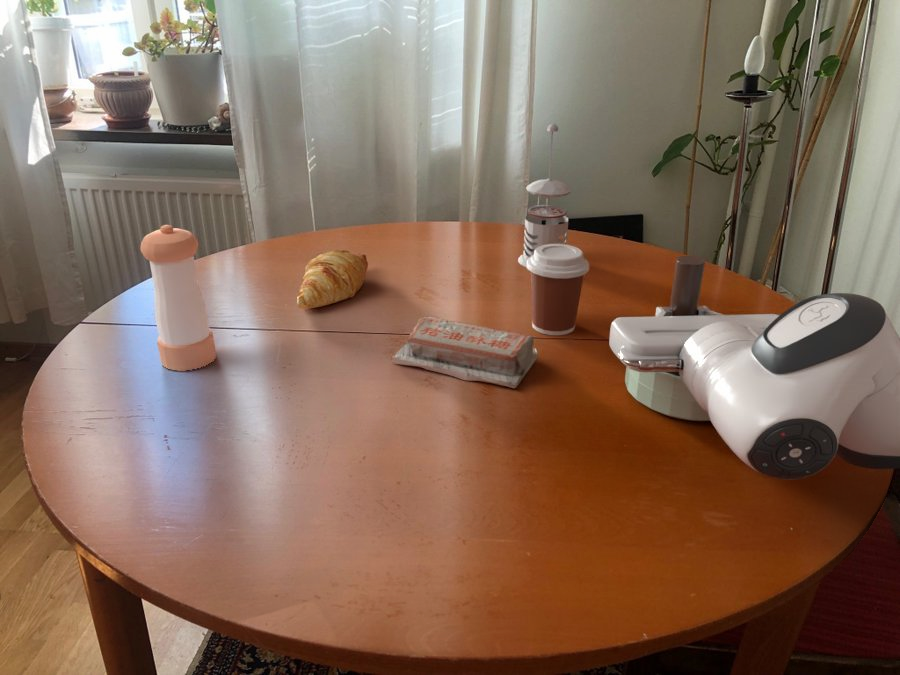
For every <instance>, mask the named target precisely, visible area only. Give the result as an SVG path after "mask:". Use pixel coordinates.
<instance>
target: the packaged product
mask: <svg viewBox="0 0 900 675" xmlns="http://www.w3.org/2000/svg"><path fill="white" fill-rule="evenodd" d="M534 344H535V342H534V337H533V336H532V335H528V334H522V333H519V332H514V331H507V330H504V329H498V328H493V327H487V326H482V325H477V324H472V323H466V322H462V321H461V322H460V321H455V320H450V319H449V320H448V319H444V318H440V317H435V316H425V317H421V318H419V319H418V321H417V322H416V325H415V326H414V327H413V329H412V331H410V333H409V335H408V339H407V342H406V343H405V344H404V345H402V347H401V348H400V349H398V350H397V351H396V352H395V354H394V355H393V356H391V360H392V364H394V365H402V366H410V367H417V368H422V369H424V370H428V371H432V372H437V373H440V374H442V375H443V374H444V375H449V376H451V377H454V378H456V379H457V378H458V379H460V380H463V381H471V382H472V381H475V382H477V381H478V382H483V383H488V384H494V385H498V386H503V387H506V388H507V387H508V388H512V389H516V388H517V387H518V385H519V384H520V382H521V381H522V380H523V379H524V377H525V376H526V375H527V373H528V372H529V370H530V369H531V368H532V367H533V365H534V363H535V362H536V360H537V359H538V356H539V354H538V351H537V349H536V348H535V347H534Z"/></svg>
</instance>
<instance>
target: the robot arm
mask: <svg viewBox="0 0 900 675" xmlns="http://www.w3.org/2000/svg"><path fill="white" fill-rule="evenodd" d="M672 315H673V311H672V310H671V309H670V306H656V308H655V315H654V316H619V317H616V318H615V319H613V321H612V322H611V324H610V329H609V337H608V338H609V341H608V343H609V348H610V349H611V351H612V352H613V354H614V355H615V356H616V357H617V359H618V360H619V361H620V362H621V363H622V364H623V365H624V366H625V367H628V368H630V369H632V370H634V371H638V372H679V374H680V377H681V379H682V381H683V382H684V384H685V385H686V387H687V388H688V389H689V391H690V392H691V394H692V395H693V397H694V398H695V400H696V401H697V403H698V404H699V405H700V406H701V408H702V409H704V410H705V411H706V412H707V413H708V414H709V417H710V422H711V424H712V426H713V427H714V429H715V430H716V432H717V433H718V435H719V436H720V438H721V439H722V440H723V441H724V443H725V444H726V445H727V446H728V447H729V449H730V450H731V451H732V452H733V453H734V454H735V455H736V457H738V458H739V460H741V461H742V462H743V463H744V464H745V465H747V467H749V468H750V469H752V470H754V471H755V472H757V473H759V474H761V475H763V476H766V477H768V478H772V479H777V480H782V481H783V480H784V481H794V480H800V479H805V478H808V477H811V476H813V475H816V474H818V473H819V472H821V471H822V470H824V469H825V468H826V467H827V466H829V465H830V463H832V461H833V459H835V457H836V456H837V457H838V458H839V459H840V460H842V461H844V462H845V463H848V464H851V465H852V466H855V467H858V468H864V469H868V470H869V469H870V470H897V469H900V336H899V334H898V332H897V330H896V328H895V326H894V324H893V323H892V321H891V319H890V318H889V316H888V314H887V313H886V310H885V308H884V306H882V304H881V303H880V302H878V301H877V300H874V299H873V298H871V297H868V296H864V295H861V294H856V293H850V292H849V293H847V292H834V293H824V294H817V295H812V296H810V297H807V298H806V299H803V300H801V301H800V302H797V303H796V304H794V305H792V306H790V307H789V308H787V309H786V310H785V311H783V312H782V313H781V314H775V313H758V314H755V313H754V314H723V313H720V312H717V311H715V310H711V309H710V308H709V307H708V306H707V305H698V309H697V315H696V316H672Z"/></svg>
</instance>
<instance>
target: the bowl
mask: <svg viewBox="0 0 900 675" xmlns="http://www.w3.org/2000/svg"><path fill="white" fill-rule="evenodd" d="M625 367H626V368H625V377H624V383H625V386H626V389H627V392H628V393H629V394H630V396H632V397H633V398H634V399H635V400H636V401H637V402H639V403H641V404H642V405H644V406H646V407H647V408H649V409H650V410H652V411H654V412H657V413H658V414H661V415H665V416H667V417H671V418H675V419H679V420H684V421H694V422H711V420H710V417H709V414H708V413H707V412H706V411H705V410H704V409H702V408H701V406H700V405H699V404H698V403H697V401H696V400H695V398H694V397H693V395H692V394H691V392H690V391H689V389H688V388H687V387H686V385H685V384H684V382H683V381H682V379H681V377H680V376H676V375H673V374H670V373H667V372H638V371H634V370H632V369H630V368H628V367H627V366H625Z"/></svg>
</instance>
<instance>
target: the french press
mask: <svg viewBox="0 0 900 675" xmlns="http://www.w3.org/2000/svg"><path fill="white" fill-rule="evenodd" d="M546 131H547V132H551V133H550V134H551V135H550V136H551V138H550V152H549V165H548V178H547V179H538V180H535V181H533V182H531V183H529V184H528V185H527V186H526V188H525V190H526V191H527V192H528V193H529V194H531V195H534V196H537V205H533V206H530V207H528V208H527V213H528V215H526V216H525V218H524V235H523V236H524V237H523V253H522V254H521V255H520V256H519V257H518V259H517V262H518V263H519V265H520V266H522V267H525V268H527V260H528V259H529V258H530V257H531V256H533V255H534V250H535V249H536V248H538V247H539V246H542V245H547V244H563V243H564V244H565V245H568V244H567V243H568V241H567V240H568V230H569V229H568V228H569V218H568V217H567V216H566V215H567V214H568V210H567V209H565V208H564V207H561V206H560V205H559V206H558V205H550V204H549V201H550V199H549V198H560V197H565V196H568V195H570V194H571V193H572V191H573V190H572V188H571V187H570V186H569V185H568V184H566V183H565V182H563V181H560V180H557V179H553V178H551V169H552V156H553V141H554V140H553V138H554V133H555V132H559V127H558V125H557V124H555V123H550V124H549V125H547V128H546ZM541 199H545V200H546V204H540V200H541ZM543 219H545V224H542V221H543ZM560 236H562V237H563V238H560Z"/></svg>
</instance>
